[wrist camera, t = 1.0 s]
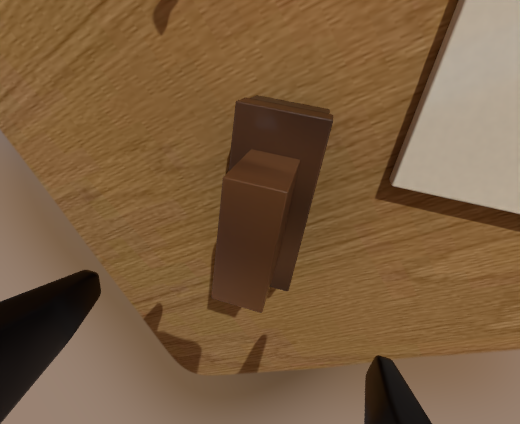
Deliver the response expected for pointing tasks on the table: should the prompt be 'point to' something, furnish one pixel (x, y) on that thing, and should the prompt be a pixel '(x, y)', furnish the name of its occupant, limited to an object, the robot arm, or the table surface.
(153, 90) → the table surface
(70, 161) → the table surface
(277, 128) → the brown stepped block
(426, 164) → the tile
